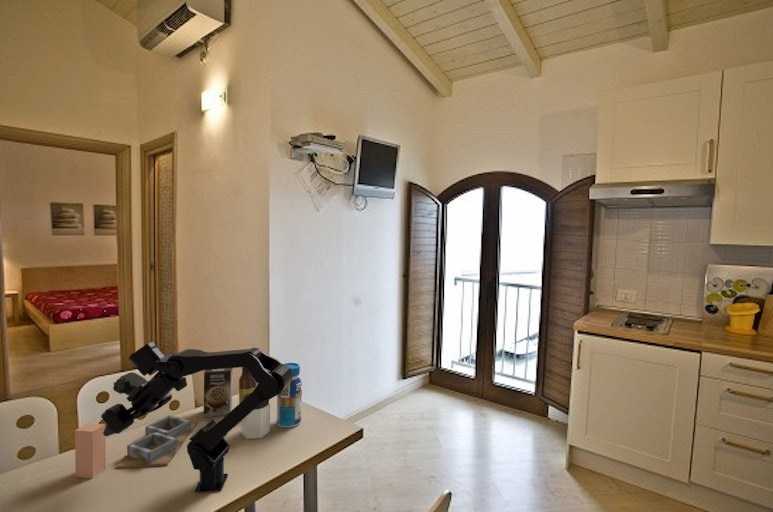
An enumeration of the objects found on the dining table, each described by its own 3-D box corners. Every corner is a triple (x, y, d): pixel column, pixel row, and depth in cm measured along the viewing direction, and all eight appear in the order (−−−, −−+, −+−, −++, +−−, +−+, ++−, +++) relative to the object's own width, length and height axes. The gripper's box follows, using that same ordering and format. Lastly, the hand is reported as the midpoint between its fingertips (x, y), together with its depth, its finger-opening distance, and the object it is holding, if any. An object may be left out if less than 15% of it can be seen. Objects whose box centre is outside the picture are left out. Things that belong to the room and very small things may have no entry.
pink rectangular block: (105, 469, 106) (105, 424, 105) (93, 478, 102) (92, 431, 101) (88, 467, 106) (88, 422, 106) (75, 476, 102) (74, 430, 102)
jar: (273, 434, 126) (273, 398, 126) (248, 442, 121) (248, 404, 121) (262, 423, 133) (262, 389, 133) (238, 430, 128) (238, 395, 128)
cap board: (167, 465, 108) (167, 453, 108) (116, 468, 106) (116, 455, 106) (197, 424, 132) (197, 413, 132) (155, 425, 130) (155, 415, 130)
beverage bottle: (272, 421, 135) (272, 364, 134) (294, 414, 140) (294, 360, 140) (283, 431, 129) (284, 371, 128) (306, 423, 134) (307, 366, 133)
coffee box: (202, 417, 137) (203, 372, 136) (206, 409, 143) (206, 366, 142) (230, 415, 139) (231, 370, 138) (232, 407, 145) (233, 364, 144)
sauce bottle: (261, 414, 140) (261, 359, 139) (246, 420, 135) (247, 364, 134) (249, 409, 144) (249, 356, 143) (234, 415, 138) (235, 360, 138)
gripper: (162, 354, 110) (126, 389, 112) (108, 377, 92) (66, 419, 94) (188, 383, 110) (151, 418, 112) (139, 412, 91) (96, 454, 93)
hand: (119, 426), depth 103 cm, fingers open, 9 cm apart
